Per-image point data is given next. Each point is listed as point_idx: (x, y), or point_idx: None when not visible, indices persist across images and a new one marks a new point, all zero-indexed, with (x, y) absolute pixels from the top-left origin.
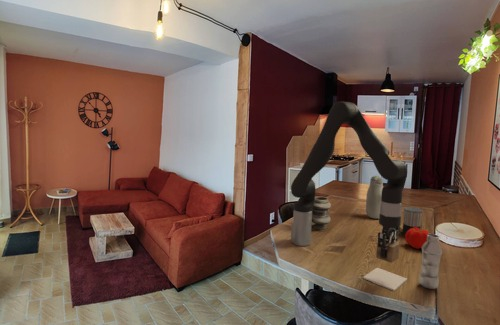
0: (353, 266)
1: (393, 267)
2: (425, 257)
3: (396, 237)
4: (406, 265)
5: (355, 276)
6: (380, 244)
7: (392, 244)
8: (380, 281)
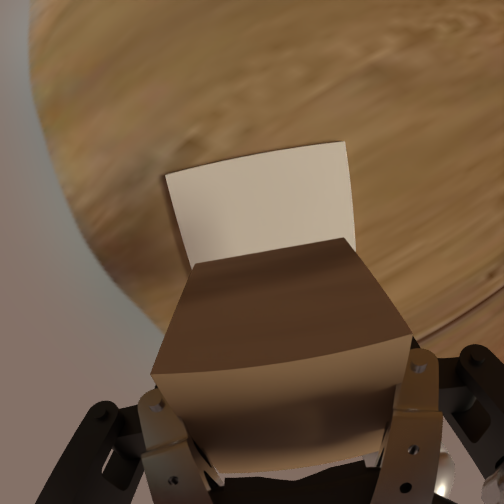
0: (238, 47)
1: (428, 187)
2: (369, 462)
3: (457, 433)
4: (479, 214)
5: (147, 139)
6: (106, 441)
7: (293, 454)
8: (211, 252)
